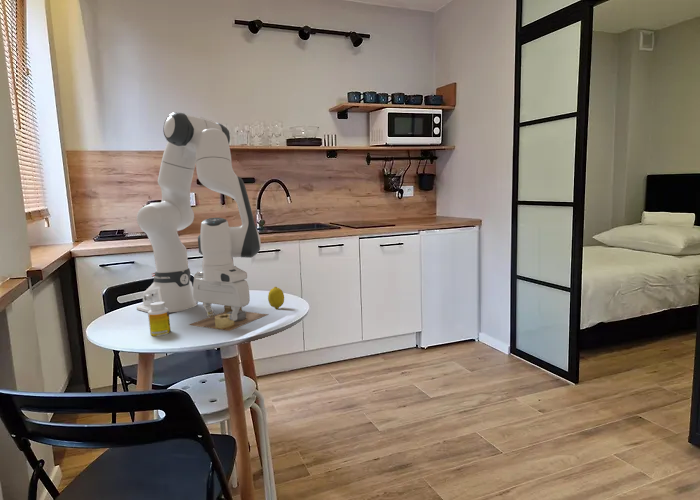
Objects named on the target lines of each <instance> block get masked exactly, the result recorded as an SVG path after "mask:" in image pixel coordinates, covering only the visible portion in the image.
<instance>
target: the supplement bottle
mask: <svg viewBox="0 0 700 500" xmlns="http://www.w3.org/2000/svg"><path fill="white" fill-rule="evenodd" d="M150 308H151V310H149V311H148V312H147V315H148V326H149V327H148V328H149V333H150V336H152V337H160V336H161V337H163V336H165V335H166V336H167V335H169V334H170V333H171V332H172V331H171V322H170V321H171V320H170V313H169V311H168V309H167V308H165V302H162V301H160V302H154V303H151V304H150Z"/></svg>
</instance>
